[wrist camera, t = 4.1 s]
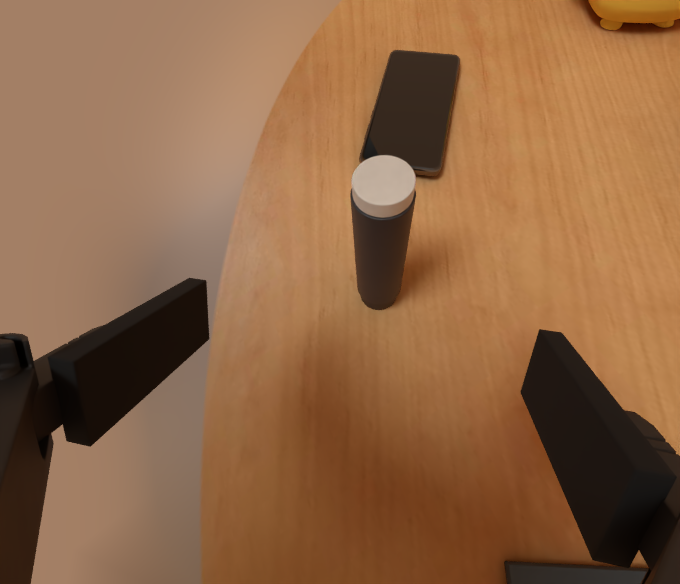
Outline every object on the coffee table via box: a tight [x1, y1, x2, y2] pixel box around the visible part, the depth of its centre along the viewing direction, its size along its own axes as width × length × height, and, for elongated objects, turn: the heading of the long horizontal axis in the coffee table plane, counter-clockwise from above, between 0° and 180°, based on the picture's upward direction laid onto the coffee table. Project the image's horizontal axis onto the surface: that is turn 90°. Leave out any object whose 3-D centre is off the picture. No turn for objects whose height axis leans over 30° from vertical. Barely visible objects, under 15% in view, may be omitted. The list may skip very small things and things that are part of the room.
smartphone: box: [359, 50, 460, 176], centre depth 37 cm, size 7×1×16 cm
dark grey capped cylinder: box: [351, 155, 416, 310], centre depth 24 cm, size 3×3×13 cm
